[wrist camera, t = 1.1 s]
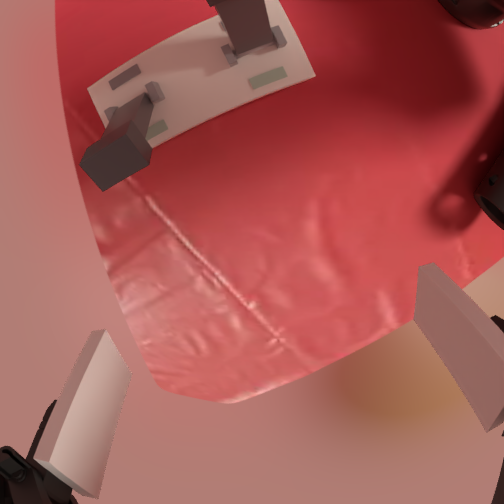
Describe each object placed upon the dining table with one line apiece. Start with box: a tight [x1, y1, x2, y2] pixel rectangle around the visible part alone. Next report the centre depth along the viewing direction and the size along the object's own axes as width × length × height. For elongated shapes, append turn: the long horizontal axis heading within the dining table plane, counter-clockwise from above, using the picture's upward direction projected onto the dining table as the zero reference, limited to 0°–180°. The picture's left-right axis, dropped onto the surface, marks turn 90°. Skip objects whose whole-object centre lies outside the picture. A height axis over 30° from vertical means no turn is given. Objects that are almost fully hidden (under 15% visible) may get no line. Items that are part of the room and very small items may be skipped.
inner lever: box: [206, 0, 273, 55], centre depth 19 cm, size 3×4×11 cm
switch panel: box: [87, 0, 316, 149], centre depth 28 cm, size 10×22×8 cm, turn 114°
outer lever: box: [79, 92, 154, 191], centre depth 23 cm, size 3×4×11 cm
